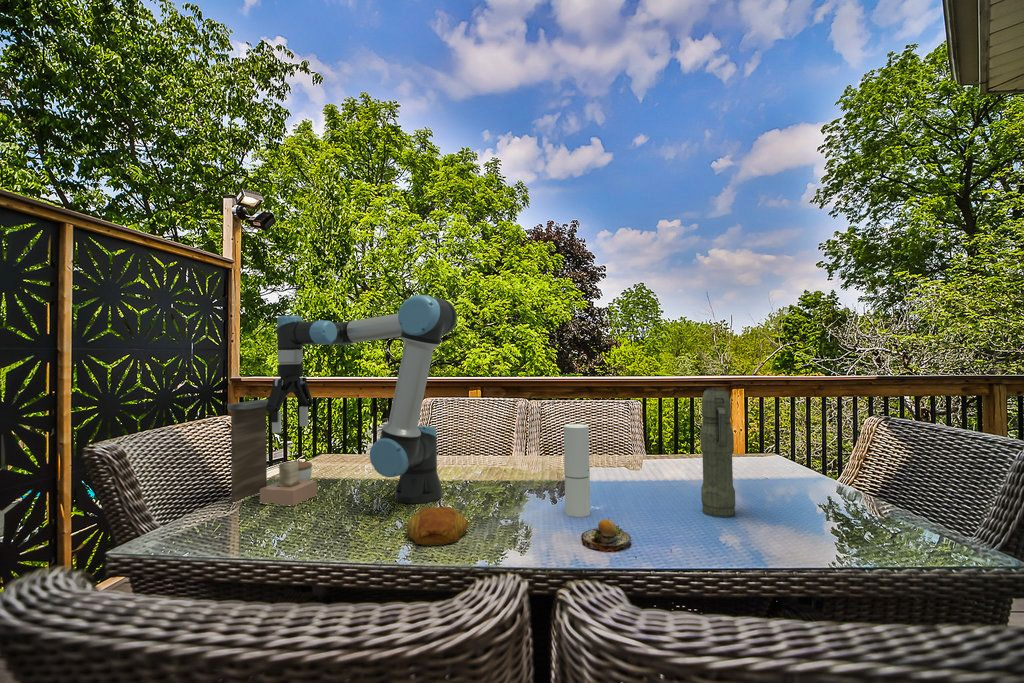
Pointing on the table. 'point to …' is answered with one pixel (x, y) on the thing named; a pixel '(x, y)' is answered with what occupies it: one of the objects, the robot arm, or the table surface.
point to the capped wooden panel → (248, 448)
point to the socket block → (288, 493)
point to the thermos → (717, 454)
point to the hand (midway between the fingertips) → (290, 429)
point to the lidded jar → (304, 470)
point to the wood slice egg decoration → (606, 537)
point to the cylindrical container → (577, 470)
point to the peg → (288, 474)
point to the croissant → (436, 526)
